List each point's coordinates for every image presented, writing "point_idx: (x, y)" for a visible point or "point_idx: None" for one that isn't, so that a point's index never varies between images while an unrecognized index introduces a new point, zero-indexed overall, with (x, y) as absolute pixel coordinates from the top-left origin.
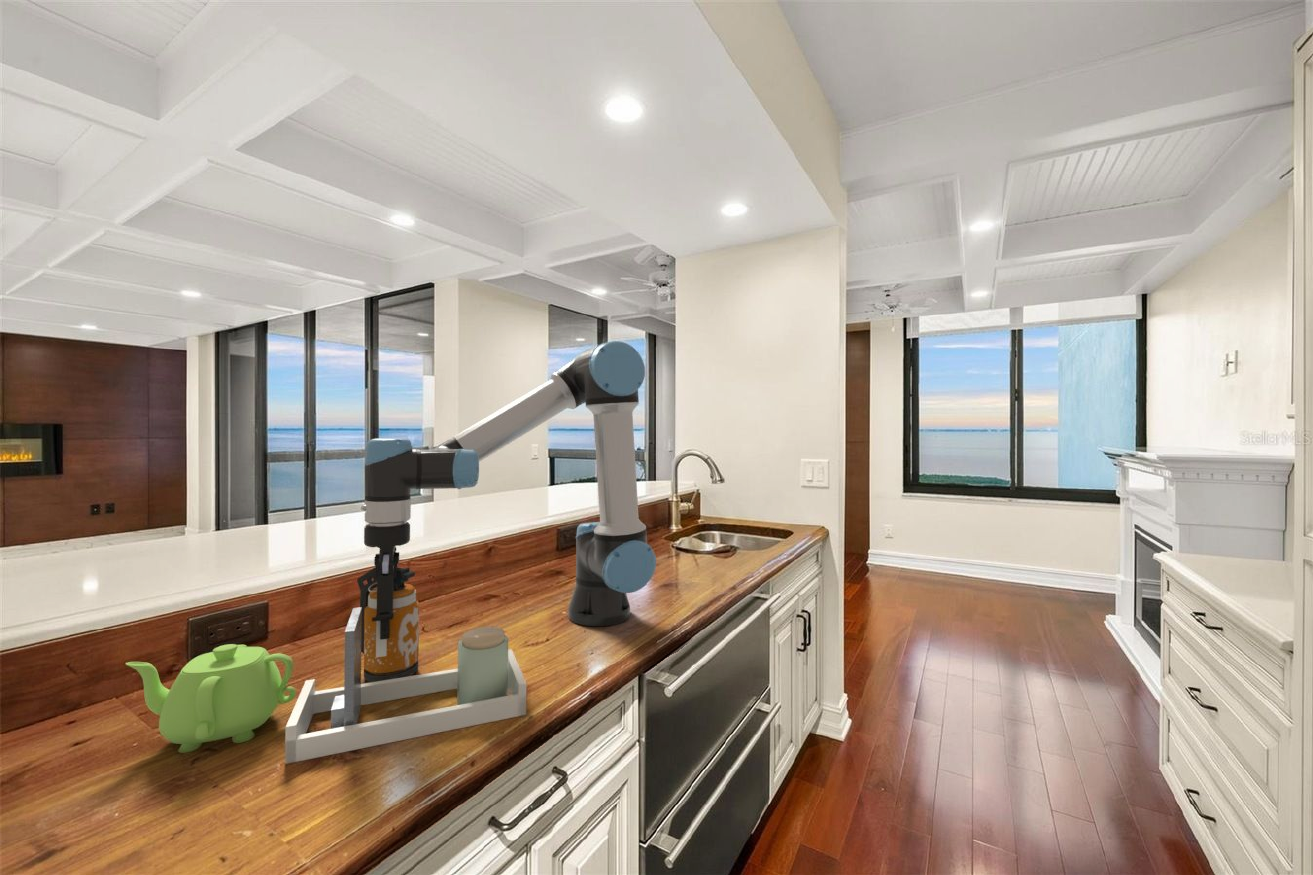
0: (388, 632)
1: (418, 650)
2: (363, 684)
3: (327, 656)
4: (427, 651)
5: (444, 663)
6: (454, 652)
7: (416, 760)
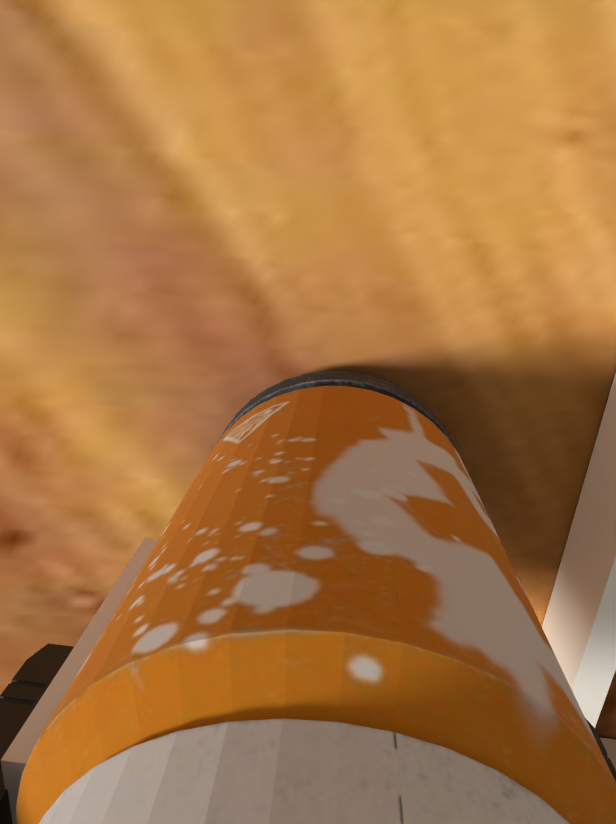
0: (611, 764)
1: (347, 400)
2: (591, 655)
3: (10, 683)
4: (93, 289)
5: (314, 217)
6: (168, 130)
7: None
